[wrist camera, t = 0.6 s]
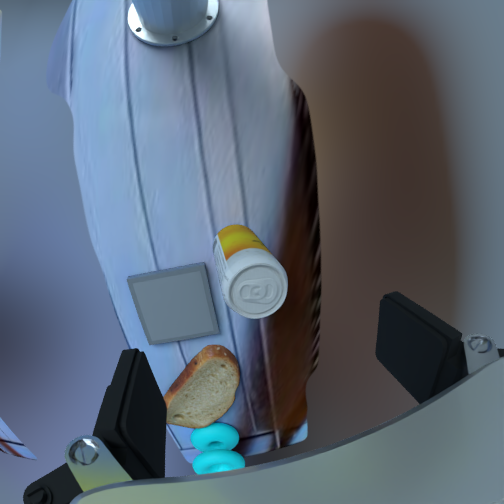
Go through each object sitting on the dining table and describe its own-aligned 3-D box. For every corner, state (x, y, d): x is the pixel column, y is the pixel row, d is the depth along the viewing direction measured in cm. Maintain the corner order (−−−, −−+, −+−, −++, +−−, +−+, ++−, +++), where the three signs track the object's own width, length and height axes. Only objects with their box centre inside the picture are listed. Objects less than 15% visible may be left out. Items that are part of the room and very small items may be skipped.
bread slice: (227, 337, 43) (230, 351, 40) (256, 405, 49) (260, 418, 46) (128, 365, 42) (124, 379, 38) (172, 426, 48) (172, 440, 44)
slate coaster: (128, 276, 37) (126, 279, 36) (204, 261, 38) (204, 265, 37) (150, 340, 40) (149, 345, 39) (218, 328, 42) (219, 333, 41)
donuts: (257, 467, 42) (220, 484, 42) (247, 431, 51) (214, 449, 52) (219, 453, 38) (182, 472, 39) (213, 413, 48) (180, 434, 48)
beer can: (254, 266, 40) (286, 321, 26) (211, 265, 39) (221, 322, 25) (258, 224, 38) (296, 260, 24) (213, 222, 37) (225, 258, 23)
